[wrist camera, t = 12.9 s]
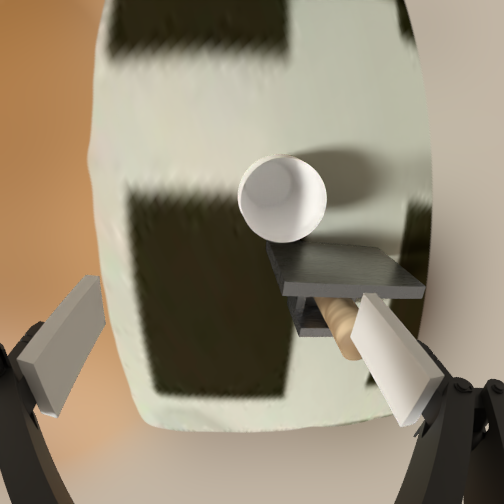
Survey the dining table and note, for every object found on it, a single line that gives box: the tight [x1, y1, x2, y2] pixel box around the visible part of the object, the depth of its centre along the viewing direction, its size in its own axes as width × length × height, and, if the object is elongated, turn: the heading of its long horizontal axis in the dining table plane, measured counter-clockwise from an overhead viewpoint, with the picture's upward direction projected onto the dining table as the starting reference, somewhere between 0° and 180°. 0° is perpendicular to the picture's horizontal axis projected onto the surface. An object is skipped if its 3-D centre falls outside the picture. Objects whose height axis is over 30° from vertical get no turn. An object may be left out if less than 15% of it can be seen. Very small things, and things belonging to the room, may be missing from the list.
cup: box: [238, 154, 327, 243], centre depth 35 cm, size 9×9×12 cm
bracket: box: [266, 240, 425, 337], centre depth 40 cm, size 10×18×14 cm, turn 84°
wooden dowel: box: [313, 297, 363, 360], centre depth 37 cm, size 4×4×14 cm
